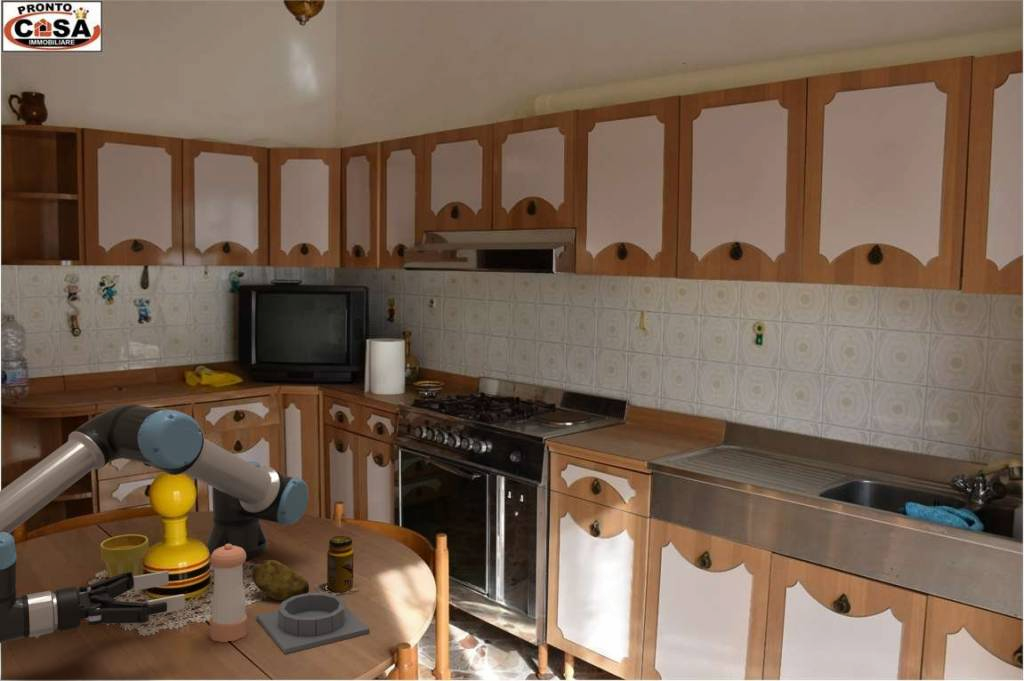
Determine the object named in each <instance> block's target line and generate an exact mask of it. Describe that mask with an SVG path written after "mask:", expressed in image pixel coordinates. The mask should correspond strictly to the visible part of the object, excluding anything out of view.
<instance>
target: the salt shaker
mask: <svg viewBox="0 0 1024 681" xmlns="http://www.w3.org/2000/svg"><path fill="white" fill-rule="evenodd" d="M246 557H247V556H246V553H245V551H244V549H243V548H241V547H238V546H233V545H232V544H226V545H225V546H223V547H220V548H218V549H216V550H214V552H213V553H212V555H211V557H210V558H209V560H210V563H211V565H212V566H213V567H214V571H213V572H214V573H213V574H214V575H213V576H214V578H213V579H214V581H213V582H214V585H213V590H212V591H213V592H212V598H211V618H210V619H209V636H210V639H211V638H212V639H211V640H212V641H214V642H217V641H219V643H229V642H228V641H232V642H234V641H233V640H236V639H239V638H241V639H243V638H245V637H246V636H247V634H248V616H247V614H246V605H247V604H246V603H247V602H246V601H247V600H246V596H245V589H244V588H245V587H244V584H243V582H244V581H243V580H244V578H243V564H244V563H245V562H246ZM245 635H246V636H245ZM242 637H243V638H242ZM239 640H240V639H239ZM236 641H237V640H236Z"/></svg>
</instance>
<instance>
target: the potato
mask: <svg viewBox="0 0 1024 681" xmlns="http://www.w3.org/2000/svg"><path fill="white" fill-rule="evenodd" d="M251 580H252V582H253V584H254V585H255V586H256V587H257V588H258V589H259V590H260V591H261V592H262V593H266V594H267V595H268V596H269V597H270V598H272V599H274V600H278V601H281V602H283V601H285V600H287V599H289V598H291V597H294V596H297V595H301V594H306V593H310V586H309V581H308V580H307V579H306V577H304V576H303V575H302V574H300V573H298V572H296V571H295V570H293V569H292V567H290V566H287V565H285V564H283V563H281V562H280V561H278V560H275V559H265V560H261V561H260V562H258V563H257V564H255V565H254V566H253V568H252V570H251Z"/></svg>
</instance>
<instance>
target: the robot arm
mask: <svg viewBox="0 0 1024 681" xmlns="http://www.w3.org/2000/svg"><path fill="white" fill-rule="evenodd" d="M121 459H125V460H128V461H132V462H133V461H134V462H137V463H138V462H139V463H143V464H146V465H148V466H151V467H153V468H155V469H157V470H159V471H162V472H164V473H166V474H167V475H171V476H179V475H182V474H184V475H185V474H186V475H187V476H189V477H192V478H193V479H195V480H197V481H199V482H201V483H204V484H206V485H208V486H210V487H211V488H212V517H213V518H212V526H211V529H210V532H209V534H208V538H207V541H206V545H205V547H206V546H207V547H208V549H209V552H210V555H212V553H213V552H214V550H216V549H218V548H220V547H223V546H225V545H226V544H232V545H233V546H238V547H241V548H243V549H244V551H245V553H246V556H247V557H246V560H247V561H248V560H252V559H255V558H258V557H261V556H262V555H263V554H265V553H266V552H267V551H268V539H267V536H266V533H265V530H264V528H263V526H262V522H261V520H262V521H265V522H270V523H275V524H279V525H281V526H290V525H291V526H292V525H294V524H296V523H297V522H298V521H299V520H300V519H301V518H302V517H303V516H304V515H305V511H306V509H307V508H308V507H307V506H308V502H309V495H310V494H309V486H308V484H307V483H306V482H305V481H304V480H303V479H300V478H299V477H295V476H294V477H292V476H288V475H286V474H284V473H282V472H280V471H279V470H276V469H274V468H273V467H270V466H266V465H265V466H261V465H260V463H259V462H258V461H252V460H251V461H246V460H245V459H243V458H241V457H239V456H238V455H235V454H234V453H233V452H230V451H228V450H227V449H226V448H223V447H221V446H219V445H217V444H215V443H214V442H212V441H210V440H208V439H206V437H205V434H204V432H203V430H202V429H201V427H200V424H199V423H198V421H196V419H194V418H193V417H192V416H190V415H189V414H187V413H184V412H182V411H178V410H175V409H163V408H156V407H151V406H150V407H149V406H144V405H139V404H123V405H119V406H116V407H112V408H110V409H108V410H105V411H104V412H101V413H100V414H98V415H96V416H94V417H92V418H91V419H89V420H88V421H86V422H84V423H83V424H81V425H80V426H79V427H78V428H76V429H75V430H73V431H72V432H70V433H69V435H68V439H67V441H66V442H65V443H64V444H63V445H61V446H60V447H58V448H57V449H56V450H55V451H53V452H52V453H50V454H49V455H48V456H46V457H45V458H43V459H42V460H41V461H39V462H37V464H35V465H34V466H32V467H31V468H30V469H28V470H27V471H25V473H24V472H23V474H22V475H20V476H19V477H17V478H16V479H15V480H13V481H12V482H11V483H9V484H8V485H7V486H5V487H4V488H2V489H1V490H0V644H3V643H7V642H12V641H16V640H21V639H27V638H33V637H34V638H36V639H38V638H39V637H41V636H42V635H47V634H48V635H49V634H52V633H53V632H54V631H55V630H56V631H57V632H64V631H69V630H70V631H71V630H74V629H78V628H79V627H80V625H81V620H83V619H88V625H89V626H96V625H106V624H109V625H110V624H145V623H148V622H149V617H151V616H155V615H160V614H167V613H170V612H171V613H173V612H175V611H181V610H185V607H186V606H185V598H186V597H185V594H184V593H182V594H176V595H172V596H165V597H160V598H155V599H149V600H147V603H145V602H136V601H135V602H133V601H122V600H121V601H120V600H115V599H116V598H117V597H119V596H121V595H122V594H125V593H127V592H128V591H131V590H133V591H140V590H146V589H151V588H156V587H163V586H168V585H170V584H169V571H168V570H163V571H158V572H156V571H155V572H153V573H151V572H150V573H146V574H142V575H139V576H133V578H132V572H127V574H126V573H123V574H120V575H117V576H115V577H112V578H109V577H108V578H106V579H104V580H100V581H97V582H95V583H92V584H88V585H84V586H80V587H78V588H77V587H76V586H72V587H65V588H59V589H56V590H55V591H54V592H53V593H52V591H51V590H46V591H41V592H40V591H39V592H35V593H29V594H23V595H20V596H19V595H17V558H18V557H17V551H16V544H15V538H14V536H13V535H12V534H11V533H12V532H13V531H14V530H16V529H17V528H18V527H19V526H21V525H22V524H24V523H25V522H26V521H27V520H29V519H30V518H31V517H32V516H34V515H35V514H37V513H38V512H39V511H40V510H41V509H43V508H45V507H46V506H47V505H48V504H49V503H50V502H52V501H53V500H54V499H56V498H57V497H58V496H60V495H61V494H62V493H64V492H65V491H67V489H69V488H70V487H71V486H73V485H74V484H75V483H76V482H78V481H79V480H81V479H82V478H83V477H84V476H85V475H86V474H88V473H89V472H90V471H92V470H93V469H94V470H101V469H102V468H104V467H106V465H108V464H109V463H111V462H113V461H115V460H121ZM246 560H245V561H246ZM120 579H121V580H120Z"/></svg>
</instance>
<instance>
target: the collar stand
mask: <svg viewBox="0 0 1024 681" xmlns="http://www.w3.org/2000/svg"><path fill="white" fill-rule="evenodd" d="M256 620H257V621H259V622H258V623H259V624H260V626H262V627H263V629H264V630H265V632H267V633H268V635H269V636H270V637H271V639H272V640H273V641H274V643H275V644H276V645H277V646H278V647H279V648H280V650H281V651H282V653H283V654H284V655H287V654H291V653H295V652H300V651H304V650H308V649H310V648H311V649H312V648H316V647H320V646H323V645H327V644H331V643H335V642H336V643H337V642H339V641H344V640H347V639H352V638H356V637H360V636H365V635H368V634H370V628H369V627H368V626H367V625H366V624H365V623H364V622H363V621H362V620H361V619H359V618H358V617H357V616H356V615H355V614H354V613H353V612H352V611H351V610H350V609H349V608H348V607H347V606H346V601H345V600H344V599H343V598H341V597H340V596H338V595H332V594H328V593H320V592H308V593H306V594H301V595H297V596H294V597H291V598H289V599H287V600H285V601H281V603H280V605H279V608H278V610H274V611H273V610H272V611H269V612H263V613H258V614H256Z"/></svg>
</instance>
